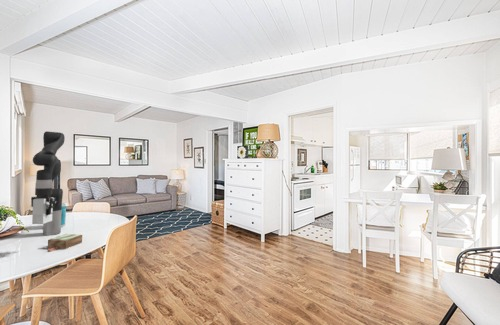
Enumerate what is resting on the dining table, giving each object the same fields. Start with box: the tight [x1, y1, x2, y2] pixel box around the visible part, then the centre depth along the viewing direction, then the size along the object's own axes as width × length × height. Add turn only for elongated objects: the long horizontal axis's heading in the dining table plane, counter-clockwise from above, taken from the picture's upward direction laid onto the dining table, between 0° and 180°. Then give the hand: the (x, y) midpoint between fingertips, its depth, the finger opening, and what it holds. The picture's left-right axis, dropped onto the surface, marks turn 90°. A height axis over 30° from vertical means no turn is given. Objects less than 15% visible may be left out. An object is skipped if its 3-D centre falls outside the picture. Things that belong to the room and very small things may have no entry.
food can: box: [61, 203, 67, 228], centre depth 181 cm, size 12×12×18 cm
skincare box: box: [31, 197, 53, 225], centre depth 134 cm, size 8×6×15 cm
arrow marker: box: [47, 247, 58, 252], centre depth 134 cm, size 6×3×1 cm, turn 175°
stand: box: [47, 233, 83, 250], centre depth 142 cm, size 12×12×5 cm
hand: (42, 214), depth 134 cm, fingers closed on skincare box, 7 cm apart
